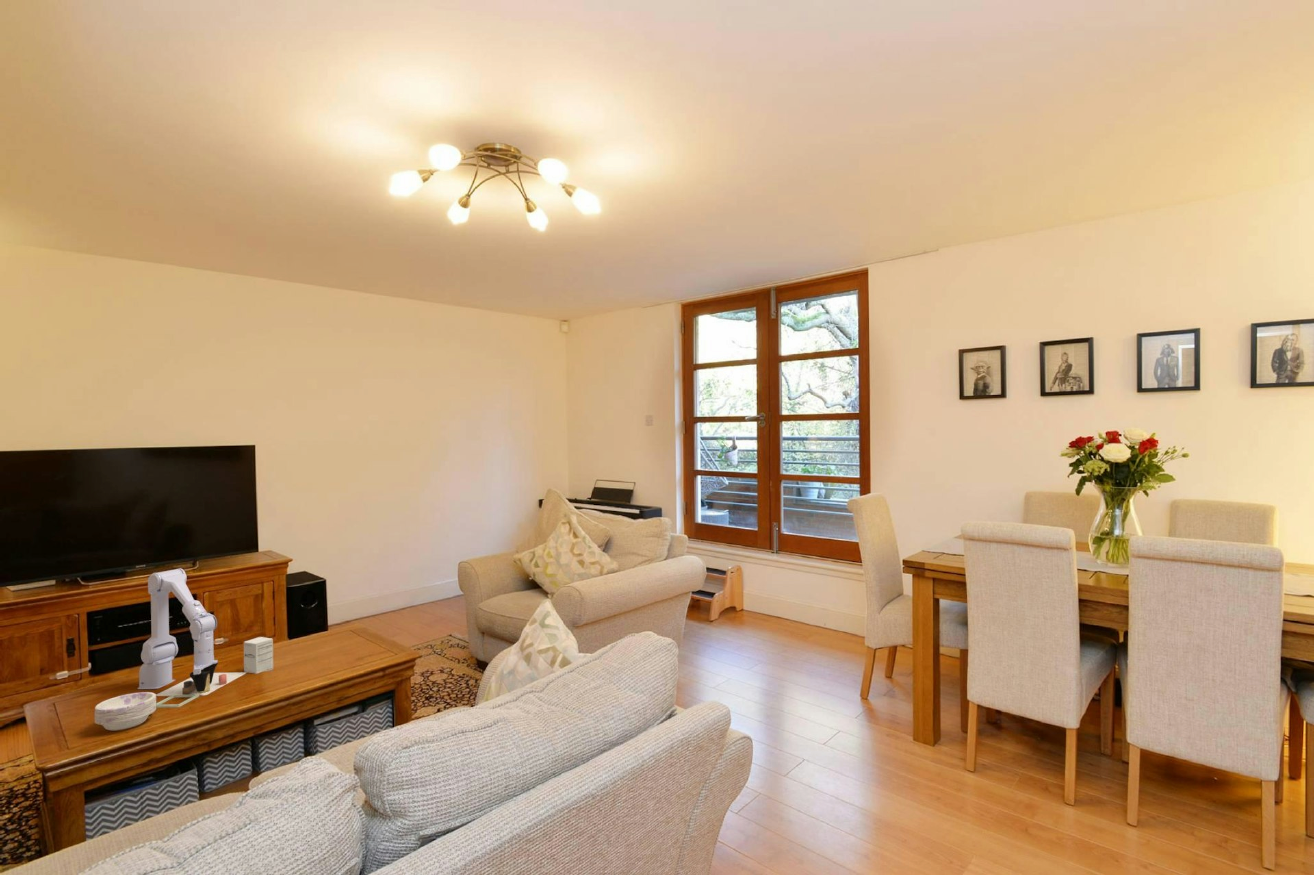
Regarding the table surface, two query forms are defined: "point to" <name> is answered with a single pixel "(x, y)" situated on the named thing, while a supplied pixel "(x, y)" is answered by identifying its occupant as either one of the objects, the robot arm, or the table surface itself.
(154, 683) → the robot arm
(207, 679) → the pin
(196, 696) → the tray
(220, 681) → the post
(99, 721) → the paper bowls
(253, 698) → the table surface
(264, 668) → the supplement box
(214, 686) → the board
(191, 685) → the crank
